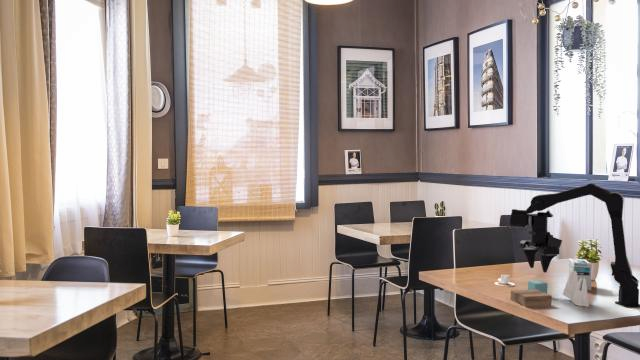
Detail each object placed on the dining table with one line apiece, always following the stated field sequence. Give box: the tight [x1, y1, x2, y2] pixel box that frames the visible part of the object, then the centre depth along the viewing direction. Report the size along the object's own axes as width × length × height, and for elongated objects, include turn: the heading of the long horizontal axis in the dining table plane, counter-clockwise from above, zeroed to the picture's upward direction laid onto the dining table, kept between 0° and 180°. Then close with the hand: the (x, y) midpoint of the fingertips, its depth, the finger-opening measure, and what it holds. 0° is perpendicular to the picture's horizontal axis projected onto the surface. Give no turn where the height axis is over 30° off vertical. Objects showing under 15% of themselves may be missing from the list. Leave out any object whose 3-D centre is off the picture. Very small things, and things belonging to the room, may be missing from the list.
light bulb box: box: [568, 258, 592, 291], centre depth 246 cm, size 11×7×11 cm, turn 168°
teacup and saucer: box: [494, 274, 515, 287], centre depth 251 cm, size 9×8×4 cm
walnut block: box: [510, 289, 553, 308], centre depth 219 cm, size 10×10×4 cm
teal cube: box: [527, 280, 548, 294], centre depth 232 cm, size 5×5×5 cm
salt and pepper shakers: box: [562, 271, 590, 307], centre depth 220 cm, size 12×4×11 cm, turn 4°
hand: (538, 270), depth 231 cm, fingers open, 9 cm apart
